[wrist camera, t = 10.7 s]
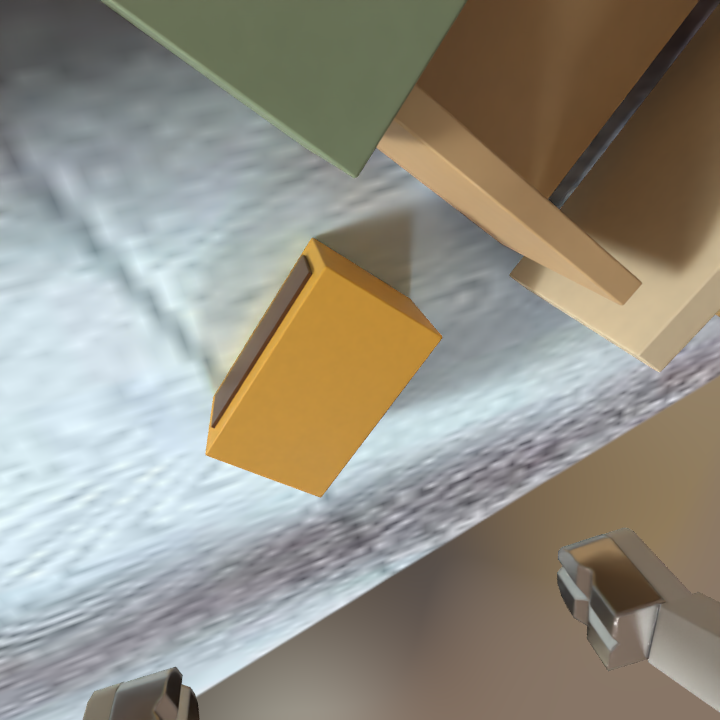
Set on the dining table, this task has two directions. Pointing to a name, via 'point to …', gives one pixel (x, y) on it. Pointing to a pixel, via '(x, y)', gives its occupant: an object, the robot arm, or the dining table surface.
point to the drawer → (565, 146)
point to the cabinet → (306, 60)
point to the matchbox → (317, 372)
